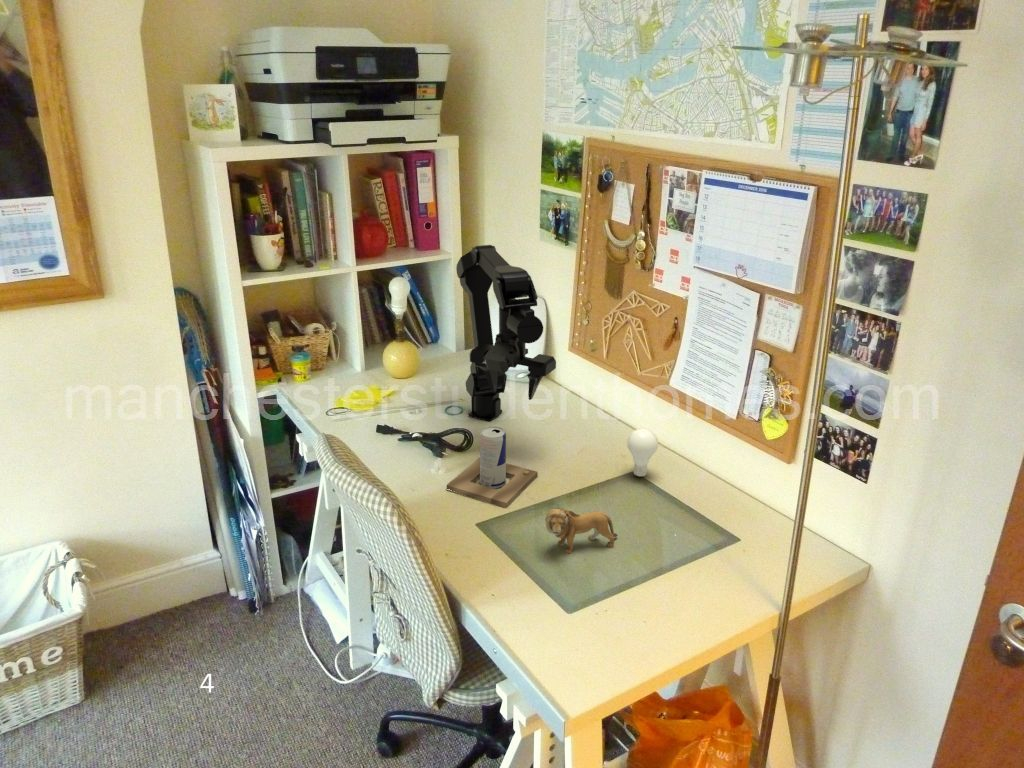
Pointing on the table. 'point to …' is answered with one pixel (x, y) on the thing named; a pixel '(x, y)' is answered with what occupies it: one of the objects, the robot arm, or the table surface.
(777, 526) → the table surface
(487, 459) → the energy drink
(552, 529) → the lion figurine
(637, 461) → the lightbulb
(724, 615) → the table surface
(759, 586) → the table surface
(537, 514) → the table surface
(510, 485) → the pocket plate
